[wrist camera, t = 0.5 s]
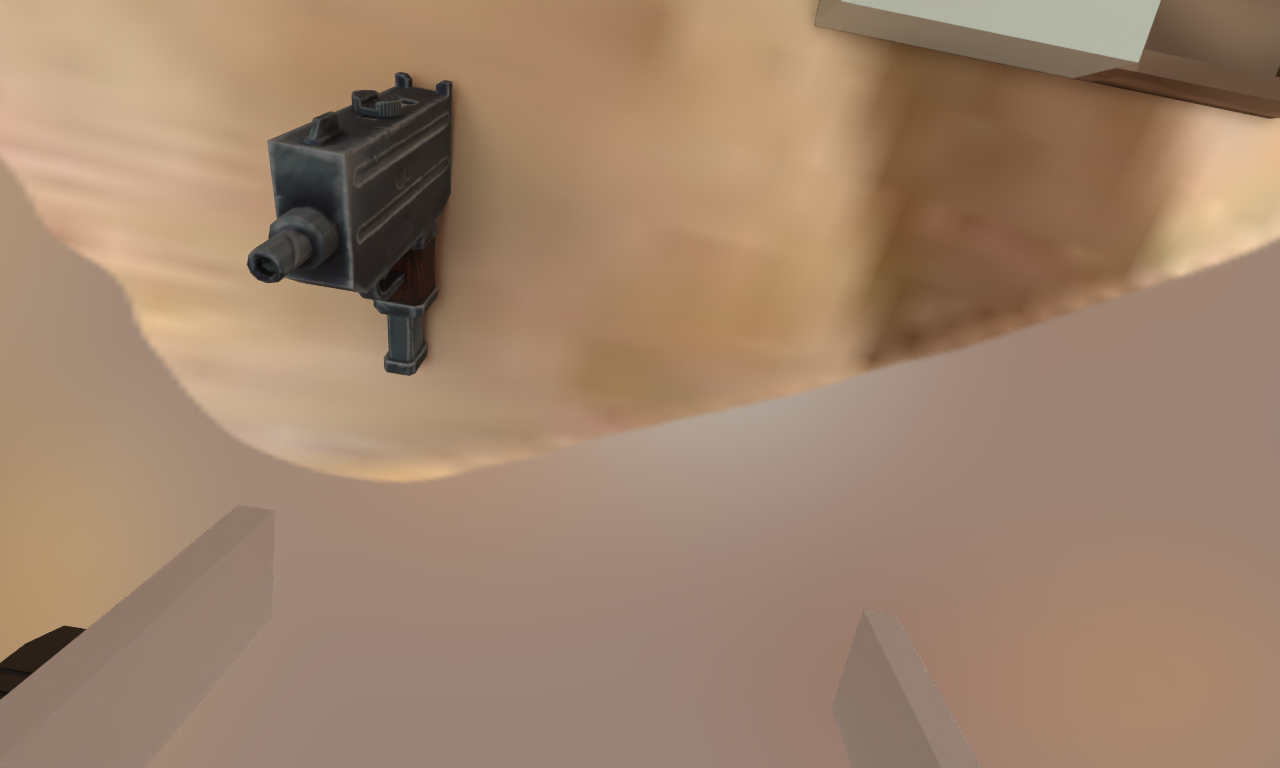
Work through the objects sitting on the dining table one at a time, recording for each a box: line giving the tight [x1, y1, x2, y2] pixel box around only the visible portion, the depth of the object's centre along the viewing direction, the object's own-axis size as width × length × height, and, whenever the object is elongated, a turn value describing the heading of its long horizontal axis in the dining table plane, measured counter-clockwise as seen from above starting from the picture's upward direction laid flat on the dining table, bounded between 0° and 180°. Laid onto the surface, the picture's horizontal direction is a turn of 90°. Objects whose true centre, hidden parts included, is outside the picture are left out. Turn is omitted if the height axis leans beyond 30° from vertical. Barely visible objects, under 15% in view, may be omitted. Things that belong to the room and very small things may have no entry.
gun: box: [247, 72, 452, 376], centre depth 31 cm, size 3×17×15 cm
